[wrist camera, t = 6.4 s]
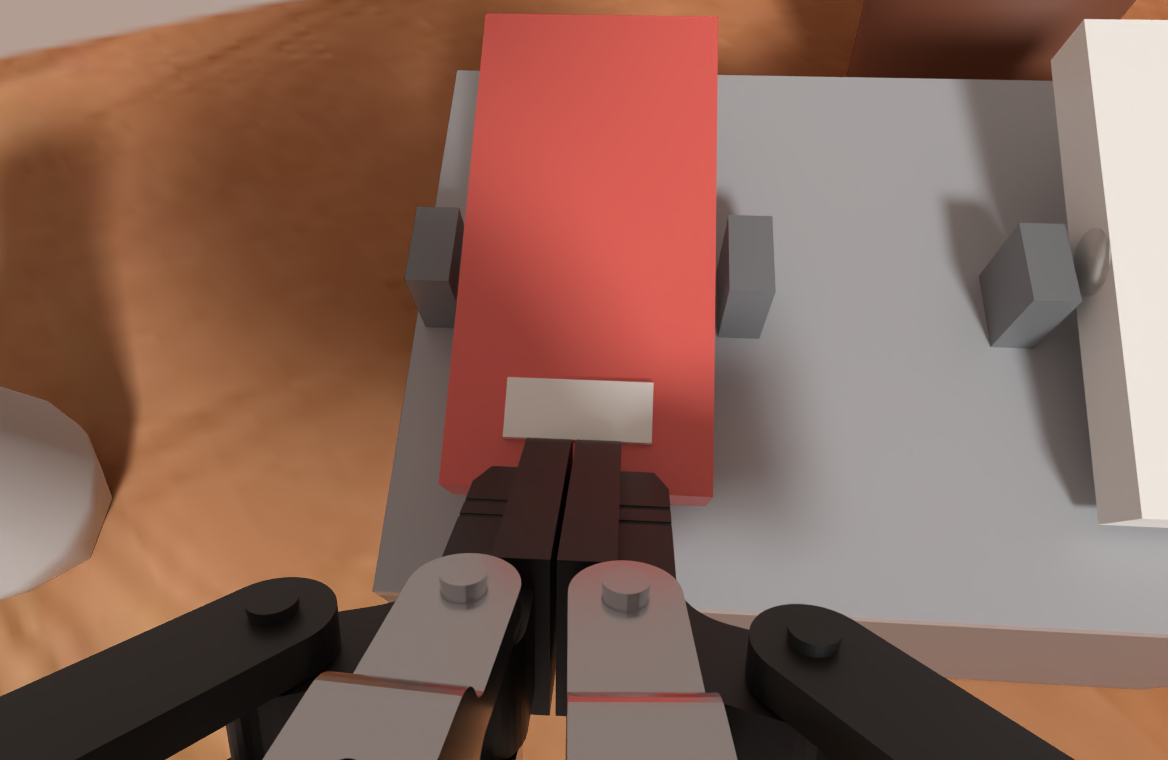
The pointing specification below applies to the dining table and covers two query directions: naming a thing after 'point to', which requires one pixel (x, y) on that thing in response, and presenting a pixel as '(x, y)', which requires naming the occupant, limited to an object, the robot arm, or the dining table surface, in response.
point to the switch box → (866, 384)
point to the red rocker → (590, 248)
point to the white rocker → (1120, 253)
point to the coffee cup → (969, 37)
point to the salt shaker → (45, 493)
